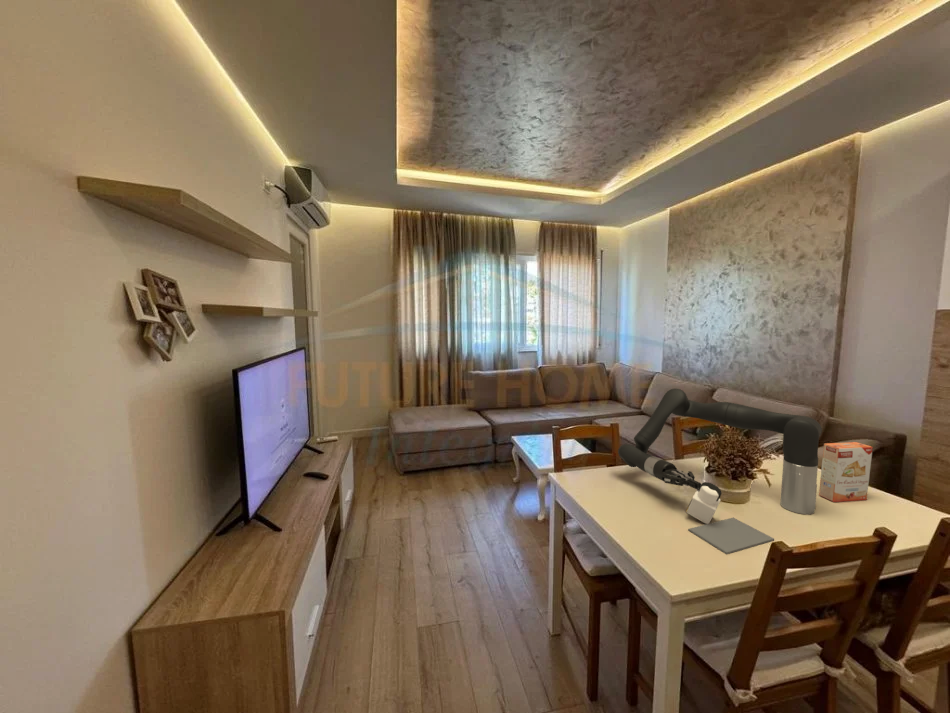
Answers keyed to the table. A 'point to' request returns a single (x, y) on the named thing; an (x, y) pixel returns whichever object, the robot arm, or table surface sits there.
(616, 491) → the table surface
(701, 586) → the table surface
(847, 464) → the cracker box
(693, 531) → the placemat
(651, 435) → the robot arm
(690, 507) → the medicine bottle
